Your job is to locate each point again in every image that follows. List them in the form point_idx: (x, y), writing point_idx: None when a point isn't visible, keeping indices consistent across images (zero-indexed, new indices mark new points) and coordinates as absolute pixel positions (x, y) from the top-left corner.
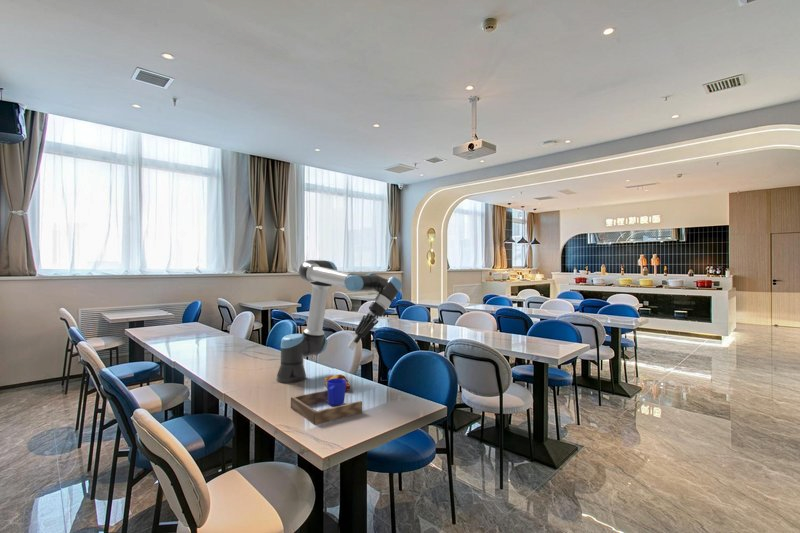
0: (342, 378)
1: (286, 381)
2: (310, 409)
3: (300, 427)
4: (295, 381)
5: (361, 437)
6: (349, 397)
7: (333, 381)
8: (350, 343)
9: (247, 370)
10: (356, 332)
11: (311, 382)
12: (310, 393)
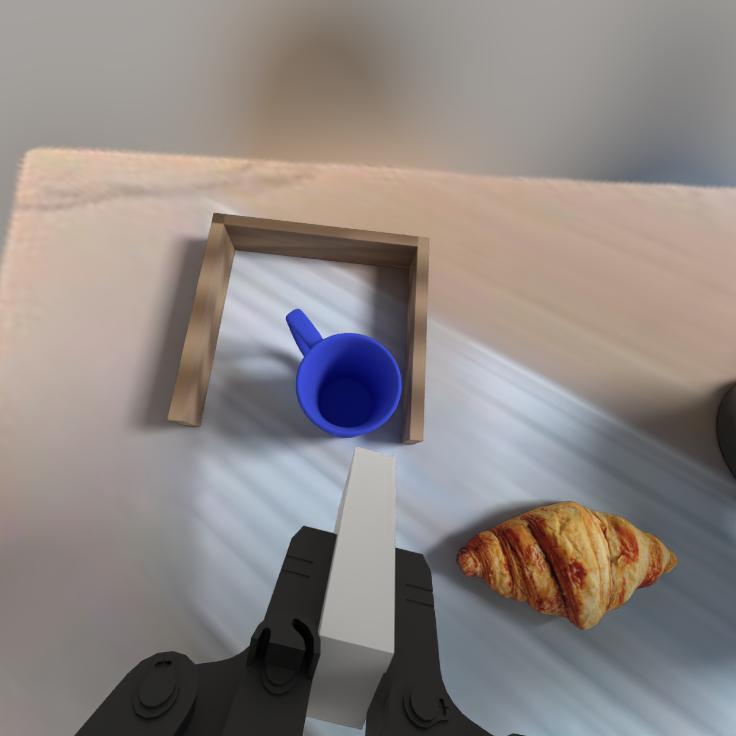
0: (551, 576)
1: (732, 393)
2: (254, 218)
3: (242, 202)
4: (720, 428)
5: (21, 284)
6: None
7: (390, 393)
8: (359, 479)
9: None
10: (421, 719)
11: (688, 492)
12: (423, 313)
